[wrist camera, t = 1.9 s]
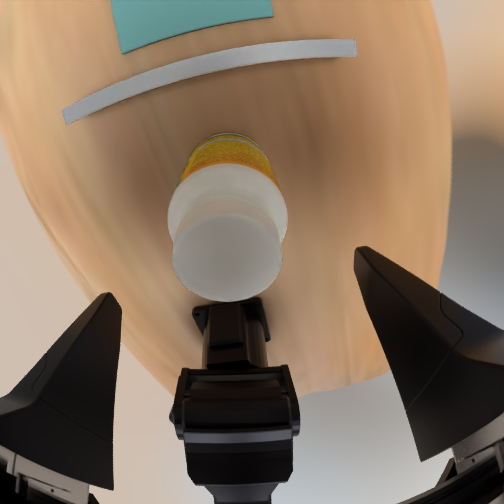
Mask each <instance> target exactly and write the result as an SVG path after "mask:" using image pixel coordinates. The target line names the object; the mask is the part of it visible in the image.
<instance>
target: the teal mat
mask: <svg viewBox="0 0 504 504" xmlns="http://www.w3.org/2000/svg"><path fill="white" fill-rule="evenodd" d="M110 1H111V6H112V11H113V16H114V21H115V26H116V31H117V35H118V40H119V44H120V48H121V53H122V54H125V53H128V52H130V51H133V50H135V49H138V48H141V47H143V46H146V45H149V44H152V43H155V42H158V41H161V40H164V39H167V38H170V37H173V36H177V35H180V34H184V33H188V32H191V31H195V30H199V29H203V28H208V27H212V26H217V25H222V24H227V23H233V22H239V21H245V20H252V19H260V18H269V17H273V16H274V14H273V9H272V5H271V1H270V0H110Z"/></svg>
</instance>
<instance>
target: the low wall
mask: <svg viewBox="0 0 504 504" xmlns="http://www.w3.org/2000/svg"><path fill="white" fill-rule="evenodd" d="M338 57H357V51H356V44H355V40H352V39H315V40H296V41H284V42H274V43H265V44H258V45H251V46H245V47H239V48H233V49H228V50H223V51H218V52H213V53H209V54H205V55H201V56H197V57H193V58H189V59H185V60H182V61H178V62H175V63H171V64H168V65H165V66H162V67H159V68H156V69H153V70H150V71H147V72H144V73H141V74H139V75H136V76H133V77H131V78H128V79H126V80H123V81H121V82H118V83H116V84H114V85H111V86H109V87H107V88H104V89H102V90H100V91H98V92H96V93H94V94H91V95H89V96H87V97H85V98H83V99H81V100H79V101H77V102H75V103H74V104H72V105H70V106H68V107H66V108H64V109H63V110H62V114H63V117H64V120H65V123H66V125H68V124H70V123H72V122H74V121H76V120H79V119H81V118H83V117H85V116H88V115H90V114H92V113H94V112H96V111H99V110H101V109H103V108H105V107H108V106H110V105H112V104H115V103H117V102H120V101H122V100H125V99H127V98H130V97H133V96H135V95H138V94H141V93H144V92H146V91H149V90H152V89H155V88H158V87H161V86H165V85H168V84H171V83H174V82H178V81H181V80H185V79H189V78H192V77H196V76H200V75H204V74H209V73H213V72H217V71H222V70H227V69H232V68H237V67H243V66H249V65H255V64H262V63H269V62H277V61H286V60H297V59H311V58H338Z"/></svg>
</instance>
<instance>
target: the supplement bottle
mask: <svg viewBox="0 0 504 504" xmlns="http://www.w3.org/2000/svg"><path fill="white" fill-rule="evenodd" d="M167 222H168V229H169V233H170V236H171V239H172V241H173V243H174V244H173V249H172V265H173V269H174V272H175V274H176V276H177V277H178V279H179V280H180V282H181V283H182V284H183V285H184V286H185V287H186V288H187V289H189V290H190V291H192V292H193V293H195V294H196V295H199V296H200V297H203V298H206V299H209V300H215V301H224V302H232V301H240V300H244V299H248V298H250V297H253V296H255V295H257V294H259V293H261V292H262V291H264V290H265V289H267V288H268V287H269V286H270V285H271V284H272V283H273V281H274V280H275V279H276V277H277V275H278V273H279V271H280V268H281V265H282V249H281V243H282V241H283V239H284V237H285V234H286V230H287V224H288V214H287V208H286V204H285V201H284V198H283V195H282V193H281V190H280V188H279V185H278V183H277V181H276V178H275V175H274V173H273V170H272V168H271V165H270V163H269V160H268V158H267V156H266V154H265V152H264V151H263V150H262V148H261V147H260V146H259V145H258V144H257V143H255V142H254V141H253V140H251V139H249V138H248V137H245V136H243V135H240V134H235V133H222V134H217V135H213V136H211V137H209V138H207V139H206V140H204V141H203V142H202V143H200V144H199V145H198V146H197V147H196V149H195V150H194V151H193V153H192V154H191V156H190V158H189V160H188V162H187V164H186V166H185V169H184V170H183V173H182V175H181V178H180V180H179V182H178V184H177V187H176V189H175V191H174V193H173V196H172V198H171V201H170V204H169V208H168V216H167Z"/></svg>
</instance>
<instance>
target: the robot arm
mask: <svg viewBox="0 0 504 504" xmlns="http://www.w3.org/2000/svg"><path fill="white" fill-rule="evenodd" d="M354 272H355V275H356V278H357V281H358V284H359V287H360V291H361V294H362V297H363V300H364V303H365V306H366V309H367V312H368V314H369V317H370V319H371V321H372V324H373V326H374V328H375V331H376V333H377V335H378V338H379V340H380V343H381V345H382V348H383V350H384V353H385V355H386V358H387V360H388V363H389V366H390V368H391V371H392V374H393V376H394V379H395V382H396V385H397V387H398V390H399V393H400V396H401V399H402V402H403V404H404V408H405V410H406V414H407V417H408V420H409V424H410V427H411V430H412V433H413V437H414V440H415V443H416V447H417V451H418V454H419V458H420V461H421V462H422V461H425V460H427V459H429V458H431V457H434V456H436V455H438V454H440V453H441V452H443V451H445V450H447V449H449V448H452V452H453V455H454V457H453V458H451V459H449V461H448V463H447V466H446V468H445V470H444V472H443V473H442V475H441V477H440V479H439V481H438V483H437V485H436V486H435V487H434V488H432V489H430V490H428V491H426V492H424V493H422V494H419V495H417V496H415V497H412V498H410V499H408V500H405V501H403V502H400V503H398V504H504V330H502V329H500V328H498V327H496V326H494V325H493V324H491V323H489V322H488V321H486V320H484V319H483V318H481V317H479V316H478V315H476V314H474V313H472V312H471V311H469V310H467V309H465V308H464V307H462V306H461V305H459V304H458V303H456V302H455V301H453V300H452V299H450V298H448V297H447V296H446V295H444V294H443V293H440V292H439V291H438V290H437V289H435V288H434V287H432V286H430V285H429V284H427V283H426V282H424V281H423V280H421V279H420V278H418V277H417V276H415V275H414V274H412V273H410V272H409V271H407V270H406V269H404V268H403V267H401V266H399V265H398V264H396V263H394V262H393V261H391V260H390V259H388V258H386V257H385V256H383V255H381V254H380V253H378V252H376V251H375V250H373V249H371V248H370V247H368V246H361V247H357V248H356V249H355V253H354ZM256 303H258V304H256ZM192 316H193V318H194V320H195V322H196V324H197V325H198V327H199V329H200V331H201V333H202V335H203V355H202V369H189V368H182V371H181V376H179V378H178V383H177V388H176V394H175V399H174V404H173V406H172V409H171V412H170V414H169V419H170V421H171V422H172V423H173V424H174V426H175V430H176V435H177V437H178V439H179V440H184V446H185V454H186V462H187V472H188V475H189V477H190V478H191V480H192V481H193V483H194V484H195V485H196V486H205V488H206V489H207V490H208V491H209V492H210V493H211V494H212V495H213V497H214V504H271V493H272V492H273V491H274V489H275V488H276V487H277V485H278V484H279V483H285V482H287V481H288V479H289V477H290V475H291V473H292V472H293V436H298V435H299V431H300V410H299V404H298V399H297V396H296V392H295V389H294V385H293V382H292V378H291V375H290V371H289V368H288V365H281V366H275V367H268V362H267V354H266V345H265V342H268V341H270V340H271V338H270V333H269V328H268V324H267V320H266V315H265V311H264V307H263V302H262V300H261V299H260V298H254V299H248V300H242V301H236V302H230V303H224V304H218V305H211V306H205V307H198V308H194V309H193V310H192ZM121 320H122V309H121V306H120V305H119V303H118V302H117V300H116V299H115V297H114V296H113V294H112V293H110V292H107V293H102V294H100V295H99V296H98V297H97V298H96V299H95V300H94V301H93V302H92V303H91V304H90V305H89V306H88V307H87V309H85V311H84V312H83V313H82V314H81V315H80V316H79V317H78V318H77V319H76V320H75V321H74V322H73V323H72V324H71V325H70V326H69V328H68V329H67V330H66V331H65V332H64V333H63V334H62V335H61V336H60V337H59V339H58V340H57V341H56V342H55V343H54V344H53V345H52V346H51V348H50V349H49V350H48V351H47V353H45V354H44V355H43V357H42V358H41V359H40V360H39V361H38V362H37V364H36V365H35V366H34V367H33V368H32V369H31V370H30V371H29V372H28V374H27V375H26V376H25V377H24V378H23V379H22V380H21V381H20V382H19V383H18V384H17V385H16V386H15V387H14V388H13V390H12V391H11V392H10V393H9V394H7V395H5V396H4V397H1V398H0V504H99V502H98V501H97V500H96V498H95V497H94V495H93V494H91V493H89V484H90V485H94V486H97V487H100V488H104V489H108V490H112V491H113V490H114V480H113V420H114V403H115V389H116V379H117V369H118V360H119V352H120V341H121Z"/></svg>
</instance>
